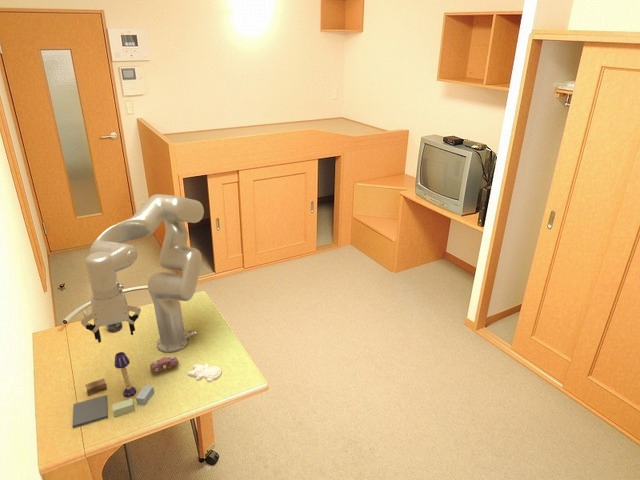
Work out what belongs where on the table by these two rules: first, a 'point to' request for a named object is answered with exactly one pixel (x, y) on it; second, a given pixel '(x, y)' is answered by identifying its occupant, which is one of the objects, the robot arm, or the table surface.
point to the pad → (90, 411)
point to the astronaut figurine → (206, 372)
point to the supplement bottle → (114, 327)
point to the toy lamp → (124, 373)
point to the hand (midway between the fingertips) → (116, 336)
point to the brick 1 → (96, 387)
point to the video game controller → (163, 363)
